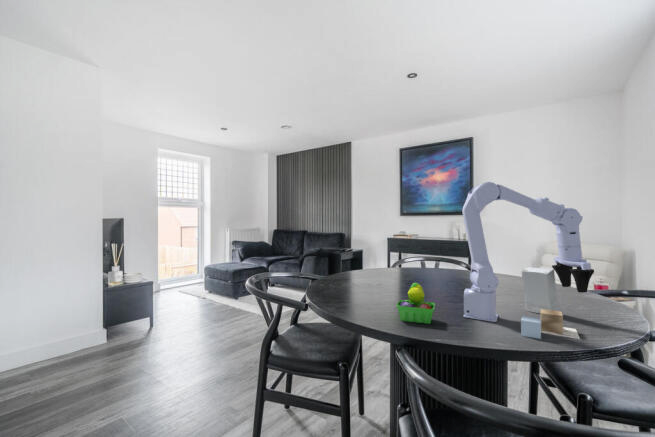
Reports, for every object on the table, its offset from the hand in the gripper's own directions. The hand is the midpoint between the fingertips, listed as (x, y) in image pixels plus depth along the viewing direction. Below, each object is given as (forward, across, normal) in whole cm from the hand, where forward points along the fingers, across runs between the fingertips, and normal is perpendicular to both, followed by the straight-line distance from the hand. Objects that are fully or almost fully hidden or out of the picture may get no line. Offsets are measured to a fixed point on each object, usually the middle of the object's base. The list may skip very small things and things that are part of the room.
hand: (574, 289), depth 96 cm
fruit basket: (+6, -4, +50) cm, 50 cm away
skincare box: (+10, +10, +6) cm, 15 cm away
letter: (+9, -8, +12) cm, 17 cm away
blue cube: (+9, -13, +20) cm, 25 cm away
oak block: (+9, -8, +12) cm, 17 cm away
